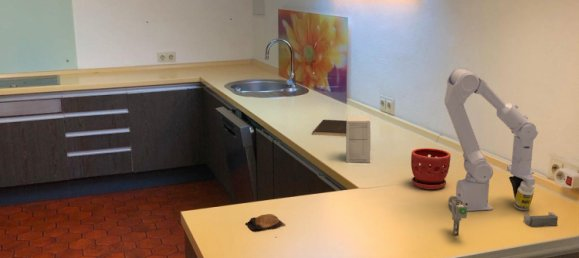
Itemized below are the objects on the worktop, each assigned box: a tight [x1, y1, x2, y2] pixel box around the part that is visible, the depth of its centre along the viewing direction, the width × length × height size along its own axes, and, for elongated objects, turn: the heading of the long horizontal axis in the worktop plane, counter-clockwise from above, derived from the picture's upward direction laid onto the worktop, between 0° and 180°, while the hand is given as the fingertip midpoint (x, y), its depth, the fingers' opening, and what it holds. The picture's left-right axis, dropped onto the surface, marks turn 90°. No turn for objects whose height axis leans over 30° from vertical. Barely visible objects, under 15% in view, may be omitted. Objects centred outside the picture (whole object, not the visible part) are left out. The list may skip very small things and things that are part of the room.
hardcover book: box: [311, 119, 347, 137], centre depth 292 cm, size 16×23×2 cm
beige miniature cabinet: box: [345, 115, 372, 164], centre depth 244 cm, size 10×9×17 cm
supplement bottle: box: [513, 181, 536, 211], centre depth 192 cm, size 5×5×8 cm
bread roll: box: [244, 213, 286, 233], centre depth 184 cm, size 11×8×4 cm
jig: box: [523, 211, 559, 228], centre depth 183 cm, size 9×4×2 cm, turn 96°
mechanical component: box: [447, 195, 468, 236], centre depth 175 cm, size 3×10×10 cm, turn 2°
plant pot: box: [410, 147, 451, 190], centre depth 214 cm, size 13×13×12 cm
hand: (518, 199), depth 197 cm, fingers closed
